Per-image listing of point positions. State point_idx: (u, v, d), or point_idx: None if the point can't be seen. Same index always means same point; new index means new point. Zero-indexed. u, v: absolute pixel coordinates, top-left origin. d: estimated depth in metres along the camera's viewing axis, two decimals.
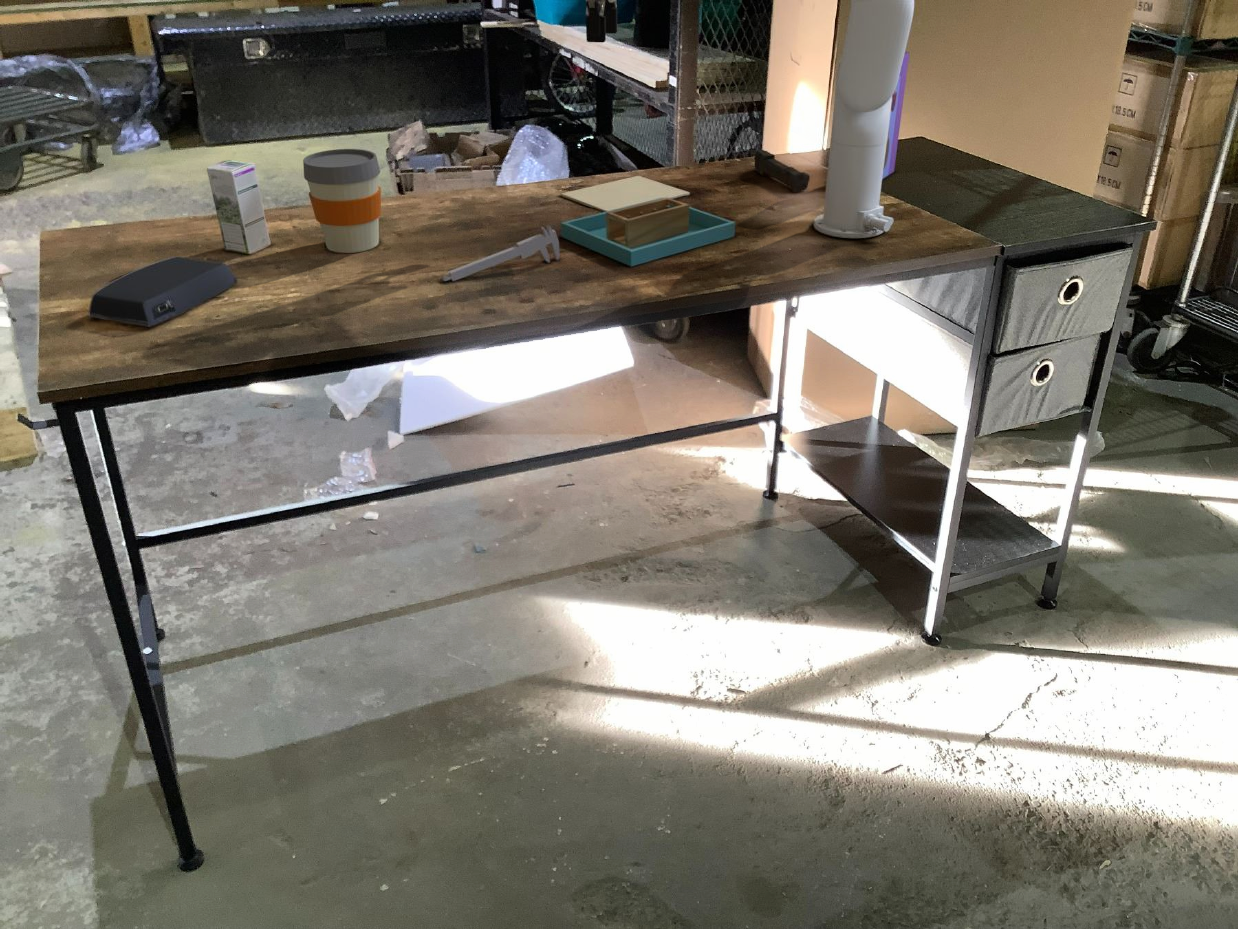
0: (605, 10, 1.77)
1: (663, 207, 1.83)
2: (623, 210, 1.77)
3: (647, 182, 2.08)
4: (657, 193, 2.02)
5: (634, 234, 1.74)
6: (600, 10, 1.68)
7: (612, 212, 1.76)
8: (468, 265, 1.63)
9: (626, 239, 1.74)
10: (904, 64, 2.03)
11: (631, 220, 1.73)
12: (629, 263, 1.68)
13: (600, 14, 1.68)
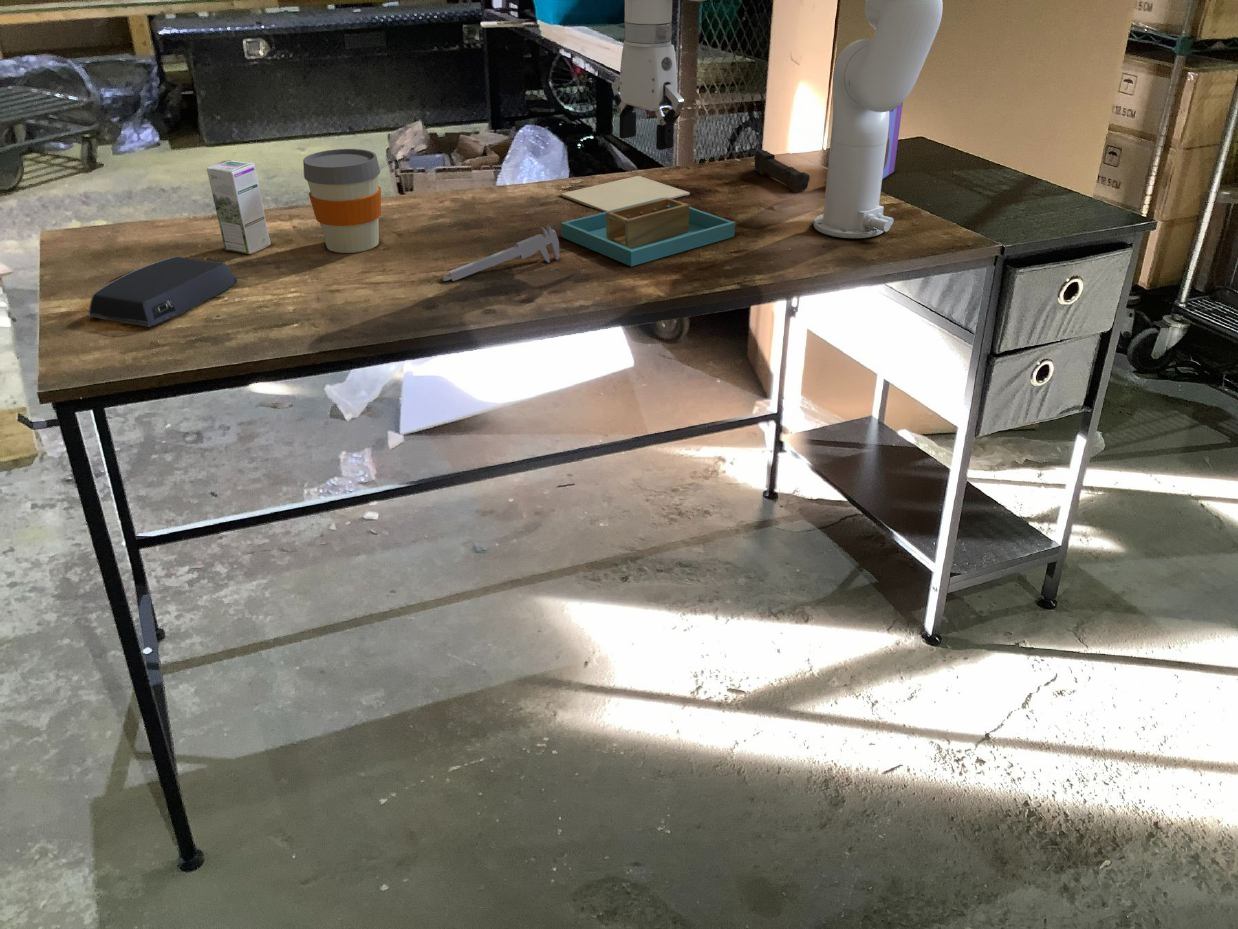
0: (627, 115, 1.73)
1: (663, 207, 1.83)
2: (623, 210, 1.77)
3: (647, 182, 2.08)
4: (657, 193, 2.02)
5: (634, 234, 1.74)
6: None
7: (612, 212, 1.76)
8: (468, 265, 1.63)
9: (626, 239, 1.74)
10: None
11: (631, 220, 1.73)
12: (629, 263, 1.68)
13: (675, 121, 1.66)
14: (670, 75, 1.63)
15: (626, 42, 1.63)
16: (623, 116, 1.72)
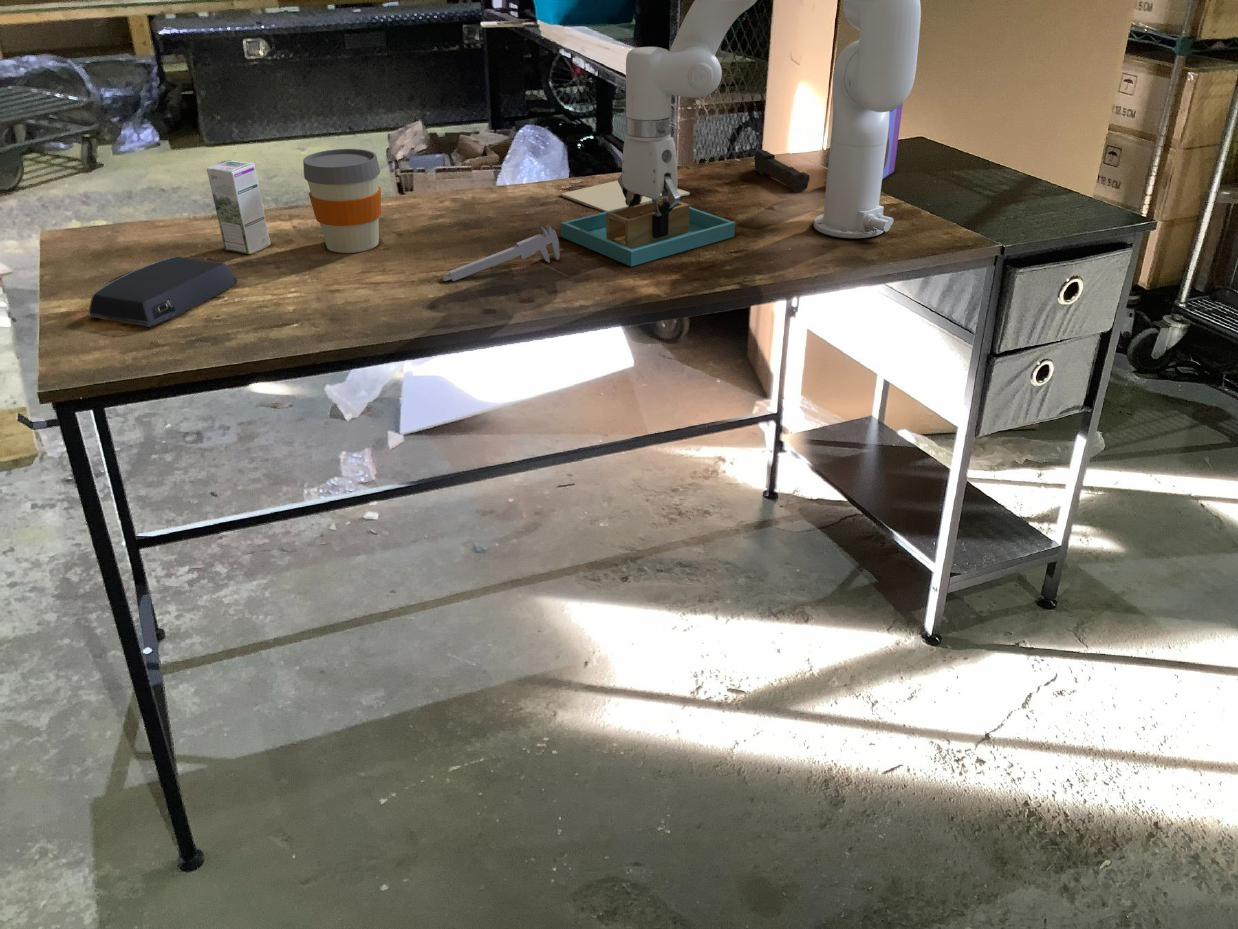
0: None
1: None
2: (623, 210, 1.77)
3: None
4: None
5: (634, 234, 1.74)
6: None
7: (612, 212, 1.76)
8: (468, 265, 1.63)
9: (626, 239, 1.74)
10: None
11: (631, 220, 1.73)
12: (629, 263, 1.68)
13: (669, 212, 1.75)
14: (671, 166, 1.71)
15: (628, 136, 1.70)
16: None
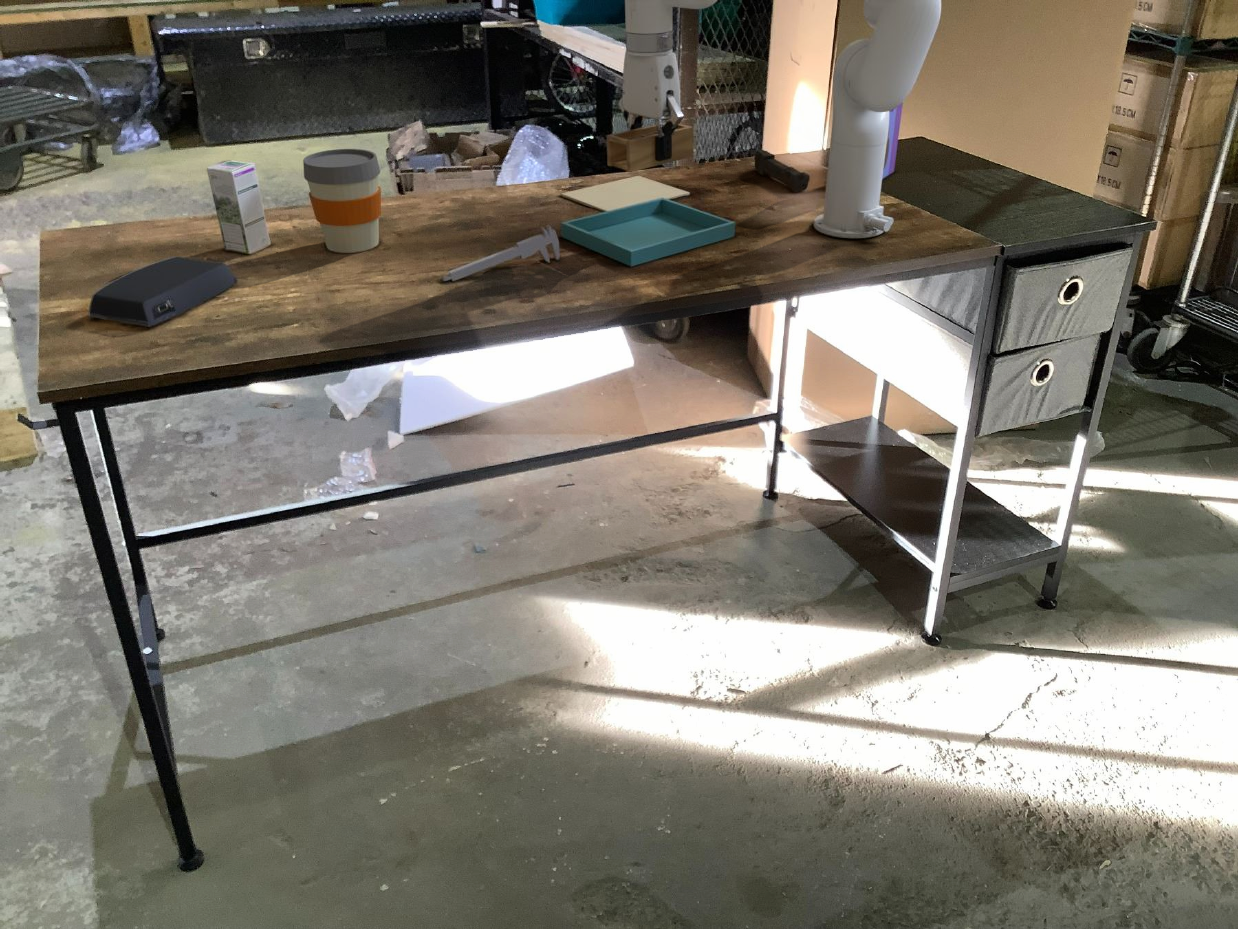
0: None
1: None
2: (624, 133, 1.71)
3: (647, 182, 2.08)
4: (657, 193, 2.02)
5: (636, 156, 1.68)
6: None
7: (613, 135, 1.70)
8: (468, 265, 1.63)
9: (628, 161, 1.68)
10: None
11: (633, 141, 1.66)
12: (629, 263, 1.68)
13: (672, 133, 1.69)
14: (673, 83, 1.64)
15: (628, 52, 1.63)
16: None
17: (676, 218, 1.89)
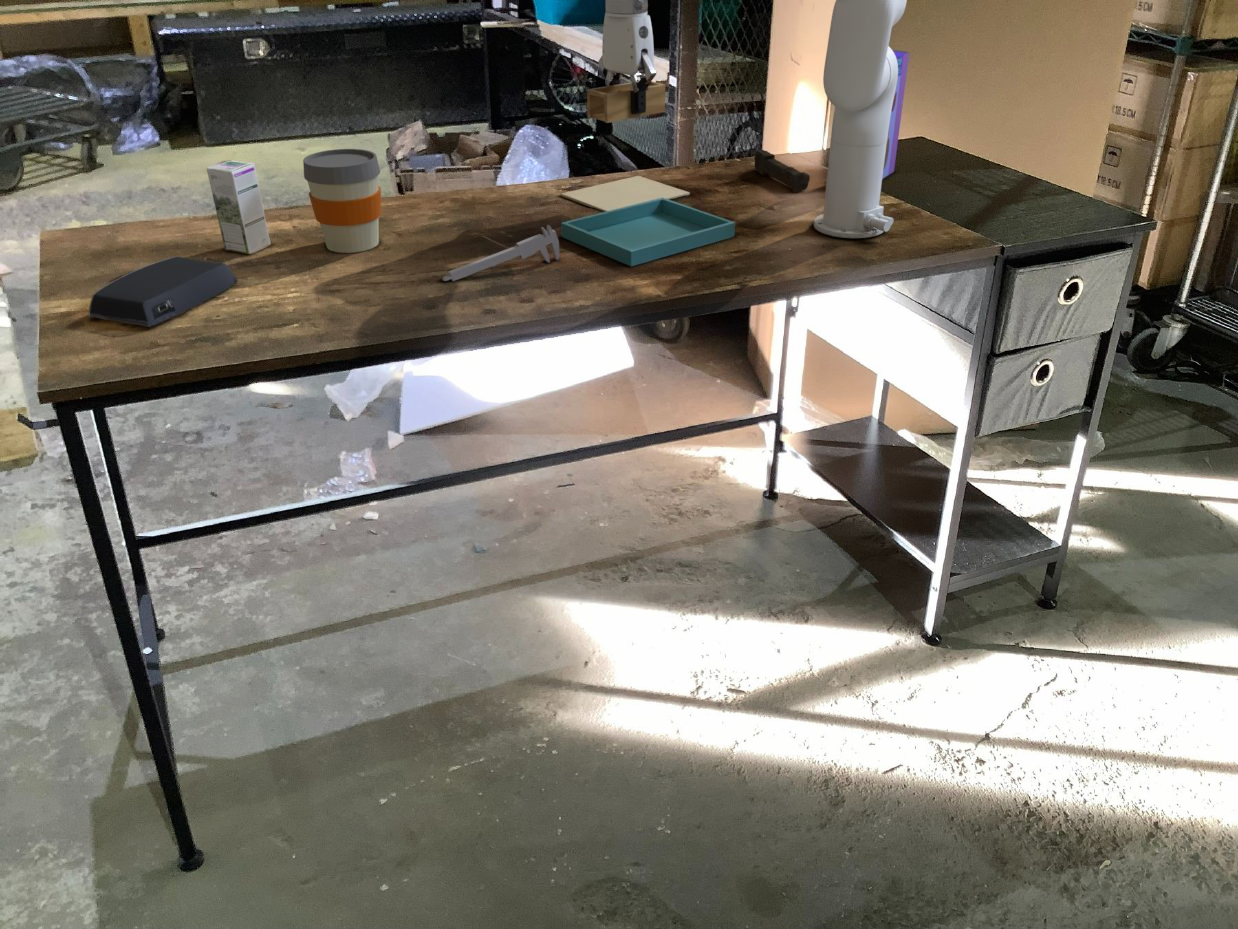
0: None
1: None
2: (603, 88, 1.89)
3: (647, 182, 2.08)
4: (657, 193, 2.02)
5: (613, 108, 1.86)
6: None
7: (593, 89, 1.87)
8: (468, 265, 1.63)
9: (606, 113, 1.85)
10: (904, 64, 2.03)
11: (610, 94, 1.84)
12: (629, 263, 1.68)
13: (647, 89, 1.87)
14: (647, 43, 1.82)
15: (607, 13, 1.81)
16: None
17: (676, 218, 1.89)
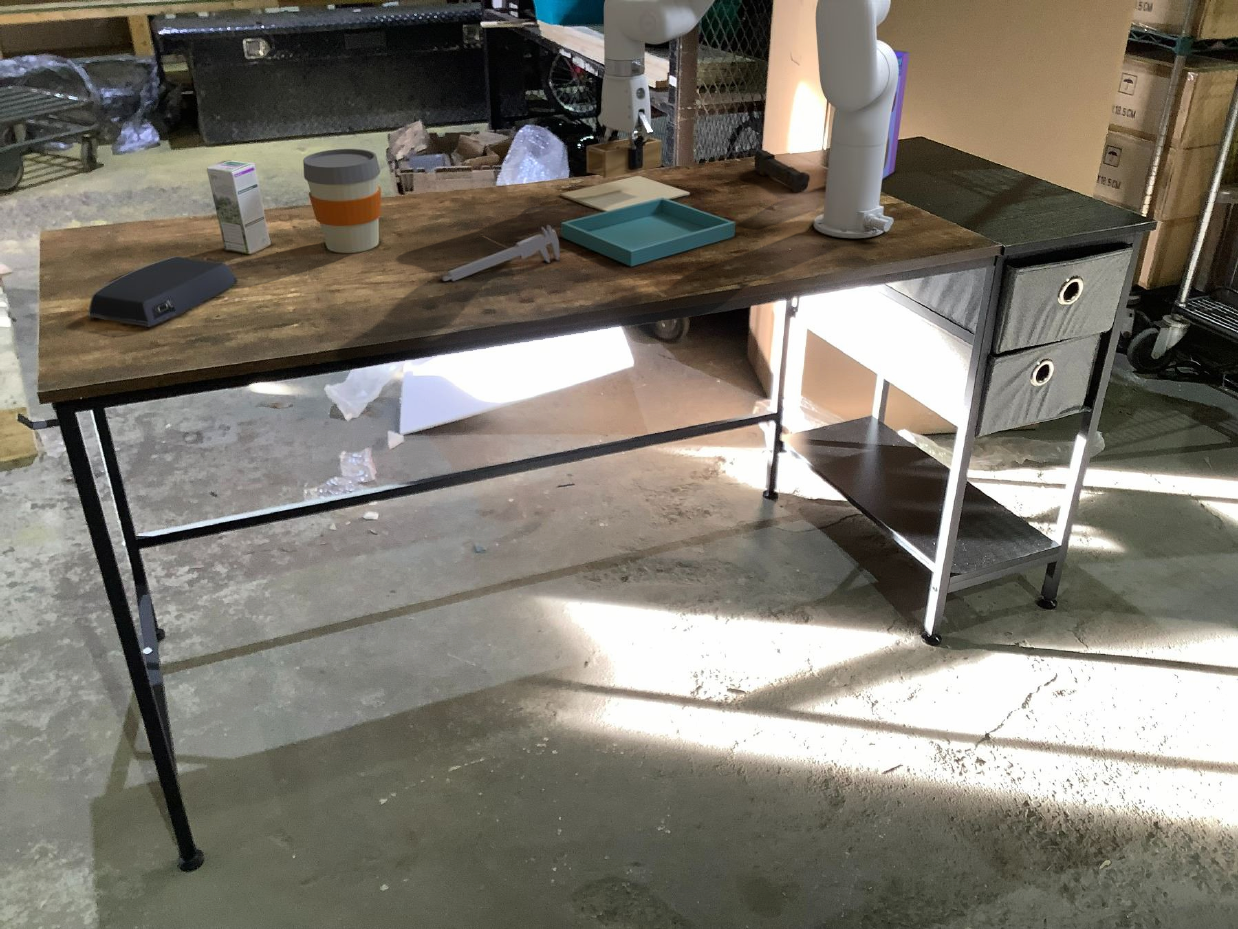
0: None
1: None
2: (602, 144, 1.97)
3: (647, 182, 2.08)
4: (657, 193, 2.02)
5: (611, 165, 1.94)
6: None
7: (592, 146, 1.95)
8: (468, 265, 1.63)
9: (604, 169, 1.93)
10: (904, 64, 2.03)
11: (608, 152, 1.92)
12: (629, 263, 1.68)
13: (643, 146, 1.95)
14: (644, 103, 1.90)
15: (606, 75, 1.89)
16: None
17: (676, 218, 1.89)
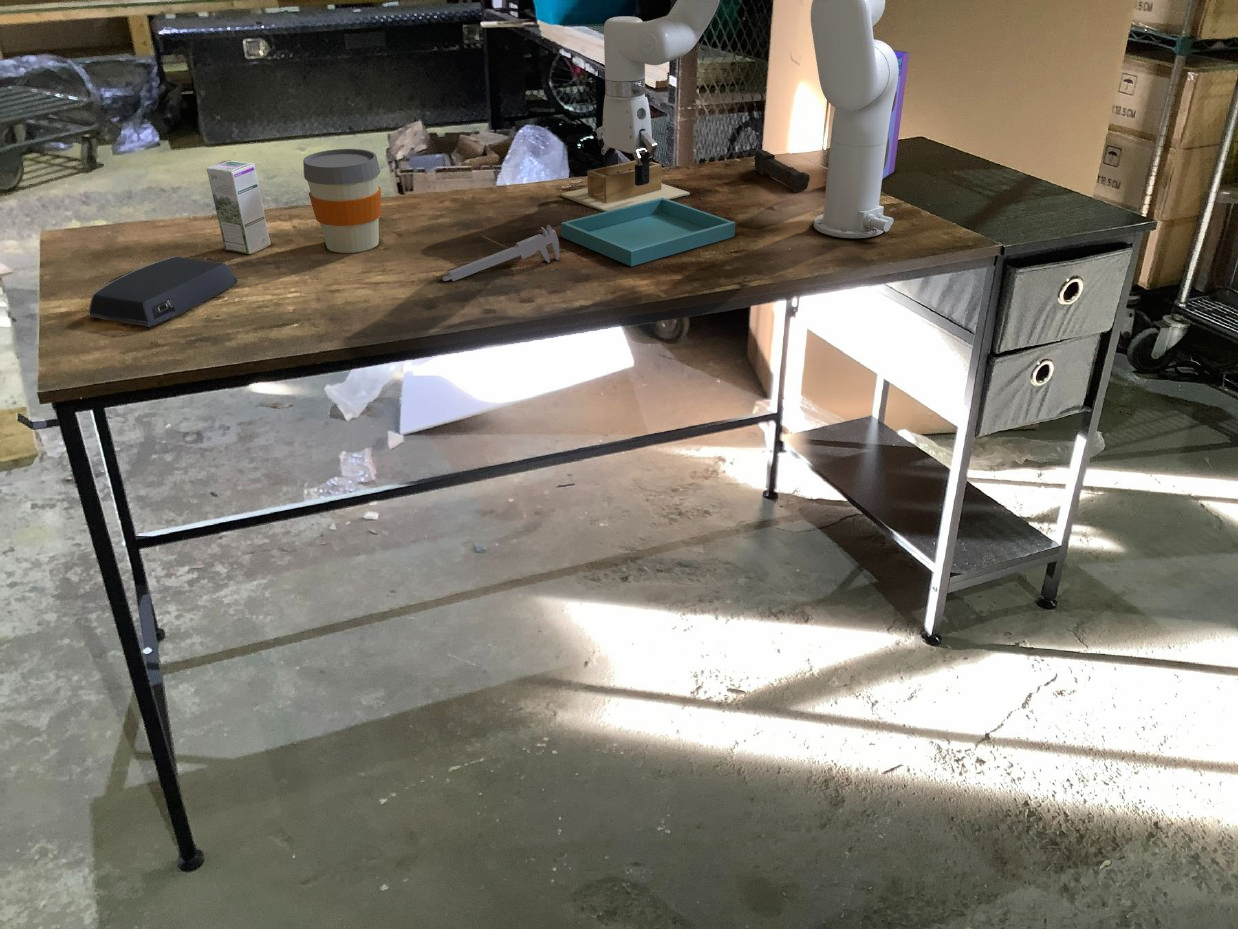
0: (610, 156, 2.02)
1: None
2: (602, 169, 1.99)
3: None
4: (657, 193, 2.02)
5: (612, 189, 1.96)
6: None
7: (592, 170, 1.98)
8: (468, 265, 1.63)
9: (605, 194, 1.96)
10: (904, 64, 2.03)
11: (609, 177, 1.94)
12: (629, 263, 1.68)
13: (650, 161, 1.95)
14: (645, 123, 1.92)
15: (607, 96, 1.91)
16: (606, 157, 2.01)
17: (676, 218, 1.89)
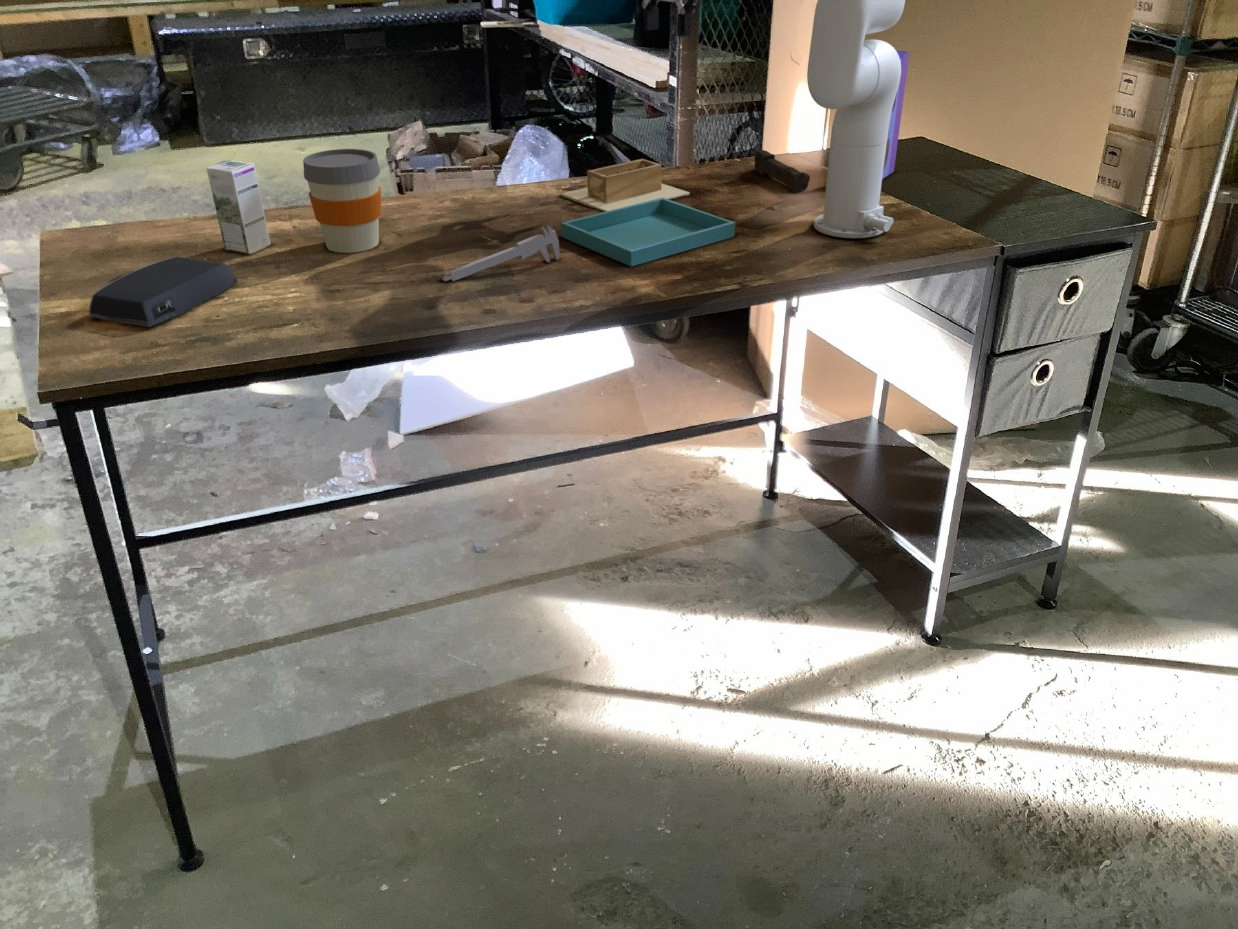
0: (651, 10, 1.99)
1: (639, 167, 2.05)
2: (602, 169, 1.99)
3: None
4: (657, 193, 2.02)
5: (612, 189, 1.96)
6: None
7: (592, 170, 1.98)
8: (468, 265, 1.63)
9: (605, 194, 1.96)
10: (904, 64, 2.03)
11: (609, 177, 1.94)
12: (629, 263, 1.68)
13: (693, 10, 1.92)
14: None
15: None
16: (647, 10, 1.98)
17: (676, 218, 1.89)
